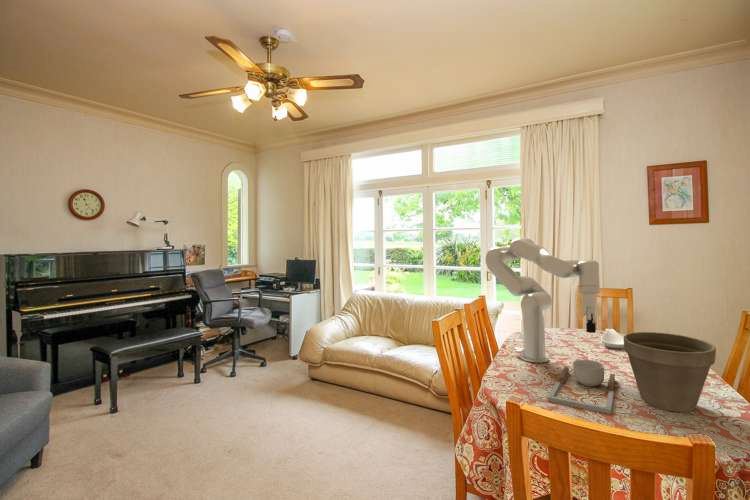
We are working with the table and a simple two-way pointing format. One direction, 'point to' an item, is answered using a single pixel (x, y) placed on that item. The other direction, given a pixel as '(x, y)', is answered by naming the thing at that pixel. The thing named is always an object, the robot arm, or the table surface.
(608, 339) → the white sneaker
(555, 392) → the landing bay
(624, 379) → the table surface
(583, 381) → the teacup
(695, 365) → the plant pot
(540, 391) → the table surface
